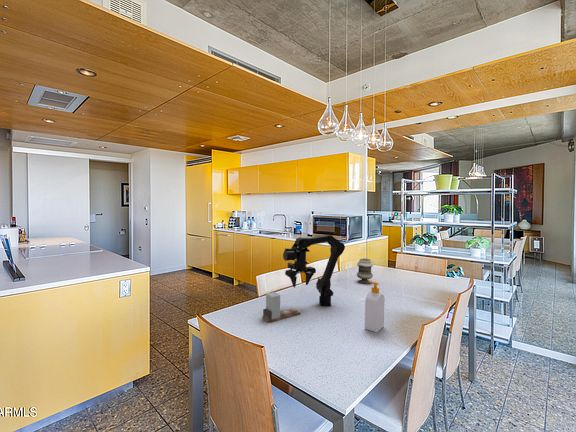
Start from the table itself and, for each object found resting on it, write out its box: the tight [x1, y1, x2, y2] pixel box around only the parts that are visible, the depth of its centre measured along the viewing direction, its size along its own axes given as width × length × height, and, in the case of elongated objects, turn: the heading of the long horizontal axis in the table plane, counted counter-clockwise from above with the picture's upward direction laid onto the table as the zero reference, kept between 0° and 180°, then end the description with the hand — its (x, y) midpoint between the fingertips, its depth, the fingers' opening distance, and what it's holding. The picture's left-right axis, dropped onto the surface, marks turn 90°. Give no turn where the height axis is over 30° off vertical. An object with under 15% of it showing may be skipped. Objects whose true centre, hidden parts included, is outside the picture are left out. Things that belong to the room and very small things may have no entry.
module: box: [265, 291, 281, 320], centre depth 151 cm, size 5×6×12 cm
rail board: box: [262, 307, 302, 323], centre depth 155 cm, size 20×7×5 cm, turn 126°
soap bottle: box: [364, 280, 385, 333], centre depth 142 cm, size 9×7×23 cm
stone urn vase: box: [356, 257, 374, 285], centre depth 222 cm, size 12×12×18 cm
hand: (300, 286), depth 166 cm, fingers open, 9 cm apart
